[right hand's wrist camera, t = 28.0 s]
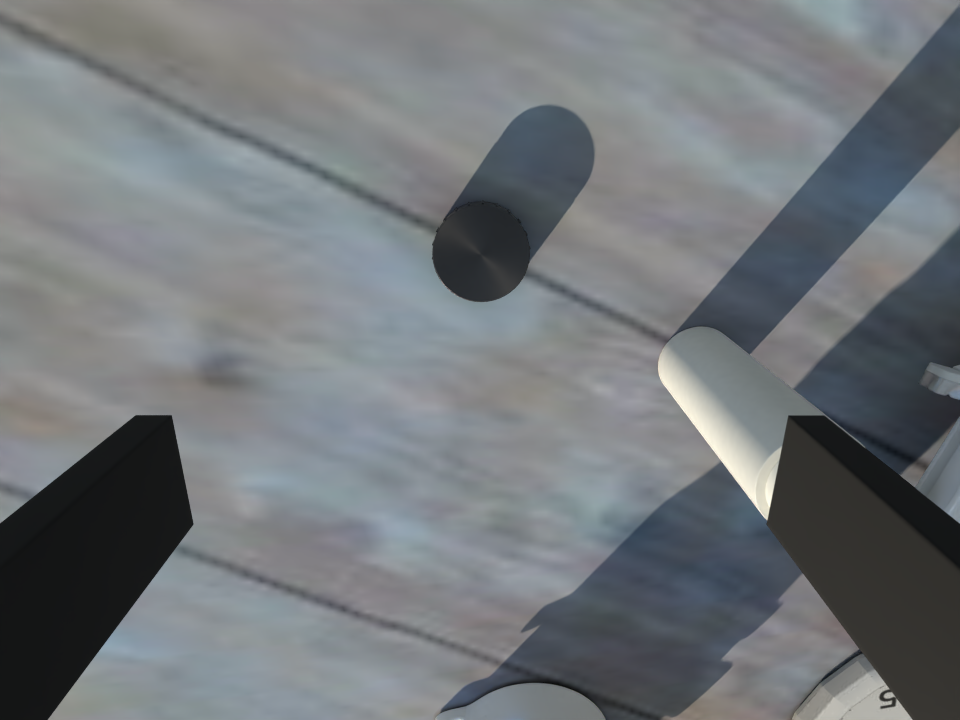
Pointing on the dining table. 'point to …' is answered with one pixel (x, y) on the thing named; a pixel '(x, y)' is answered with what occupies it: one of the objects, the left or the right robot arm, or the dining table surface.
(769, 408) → the white cylindrical tube
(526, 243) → the lid
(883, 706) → the wall clock
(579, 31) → the dining table surface
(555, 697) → the left robot arm
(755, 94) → the dining table surface
